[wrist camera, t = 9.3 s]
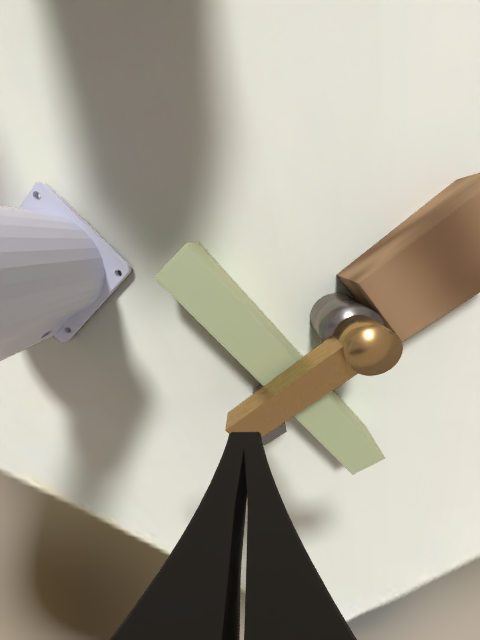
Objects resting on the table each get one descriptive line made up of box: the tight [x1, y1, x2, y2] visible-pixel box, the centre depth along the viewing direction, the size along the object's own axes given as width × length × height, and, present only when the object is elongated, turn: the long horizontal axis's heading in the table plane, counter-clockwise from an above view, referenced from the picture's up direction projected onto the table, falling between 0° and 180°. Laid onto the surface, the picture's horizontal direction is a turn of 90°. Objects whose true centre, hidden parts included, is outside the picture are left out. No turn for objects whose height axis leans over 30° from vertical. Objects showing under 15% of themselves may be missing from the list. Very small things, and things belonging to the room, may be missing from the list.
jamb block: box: [337, 173, 480, 342], centre depth 14 cm, size 9×5×4 cm, turn 132°
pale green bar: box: [154, 243, 385, 475], centre depth 17 cm, size 3×22×3 cm, turn 42°
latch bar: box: [225, 315, 403, 437], centre depth 14 cm, size 12×3×2 cm, turn 133°
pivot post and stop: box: [253, 293, 384, 445], centre depth 16 cm, size 11×4×5 cm, turn 132°
